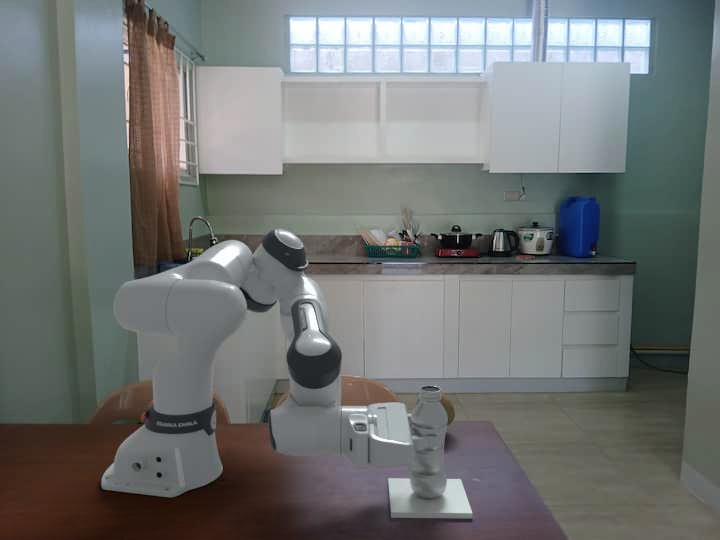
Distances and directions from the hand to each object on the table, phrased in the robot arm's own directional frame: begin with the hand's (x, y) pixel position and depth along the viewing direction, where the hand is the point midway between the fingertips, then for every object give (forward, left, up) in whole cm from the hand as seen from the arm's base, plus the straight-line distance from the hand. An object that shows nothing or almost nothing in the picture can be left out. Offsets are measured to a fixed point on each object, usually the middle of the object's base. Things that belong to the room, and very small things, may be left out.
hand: (434, 431), depth 104 cm
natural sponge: (+4, +30, -13) cm, 33 cm away
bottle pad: (-1, 0, -13) cm, 13 cm away
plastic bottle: (-1, 0, -12) cm, 12 cm away
